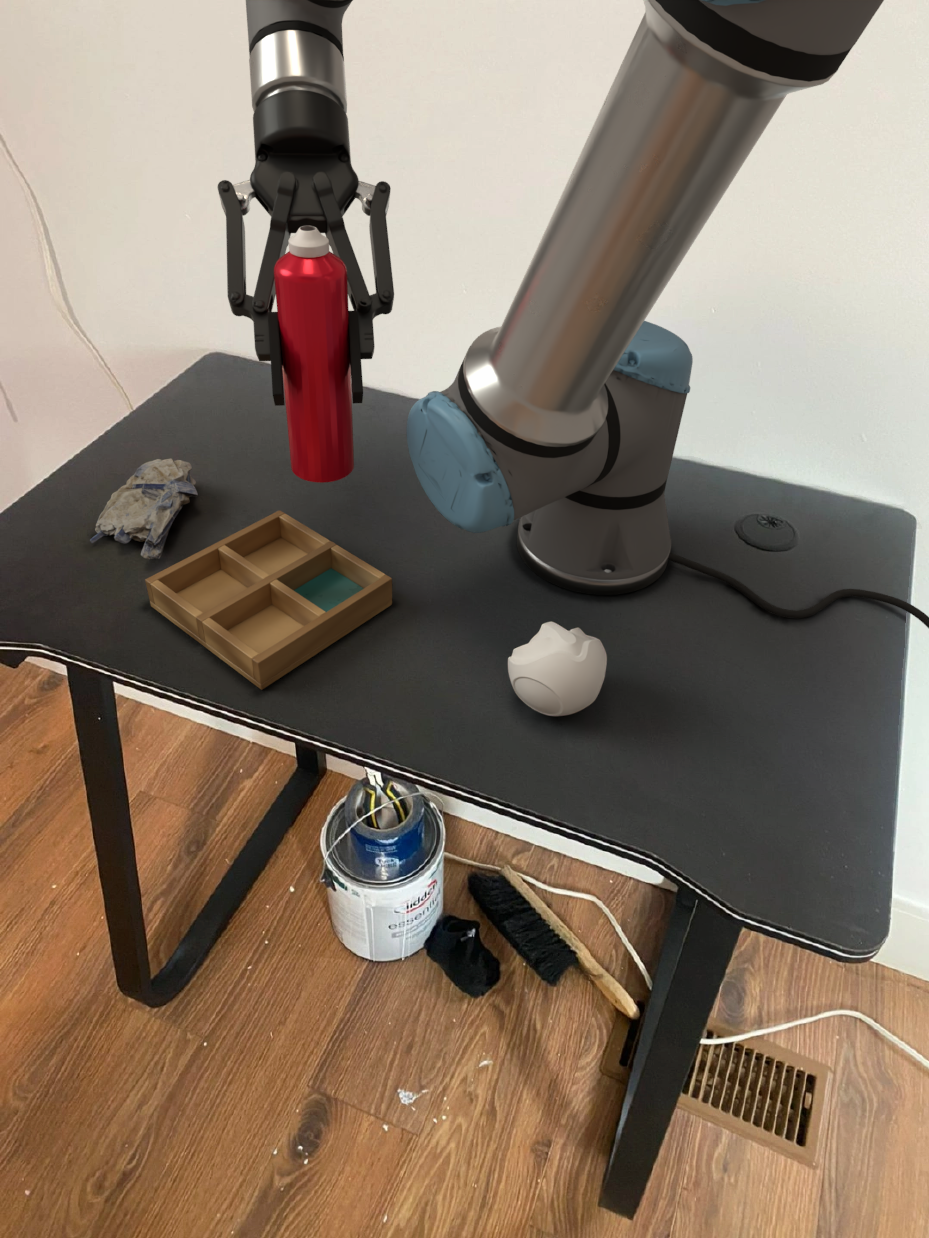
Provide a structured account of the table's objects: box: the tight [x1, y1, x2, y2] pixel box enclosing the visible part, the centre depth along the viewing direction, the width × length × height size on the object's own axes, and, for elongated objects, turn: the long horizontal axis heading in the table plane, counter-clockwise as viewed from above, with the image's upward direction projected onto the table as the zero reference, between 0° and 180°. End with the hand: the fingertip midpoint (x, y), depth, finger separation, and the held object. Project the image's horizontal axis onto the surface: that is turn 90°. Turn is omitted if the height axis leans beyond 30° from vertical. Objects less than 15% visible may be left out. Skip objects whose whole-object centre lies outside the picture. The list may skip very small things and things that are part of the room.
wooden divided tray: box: [144, 510, 393, 691], centre depth 83 cm, size 15×15×3 cm
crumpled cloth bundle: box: [89, 457, 199, 560], centre depth 91 cm, size 15×8×4 cm, turn 168°
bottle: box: [274, 226, 355, 484], centre depth 73 cm, size 5×5×20 cm
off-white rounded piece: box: [507, 621, 608, 717], centre depth 74 cm, size 8×8×8 cm
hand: (318, 398), depth 72 cm, fingers closed on bottle, 5 cm apart
